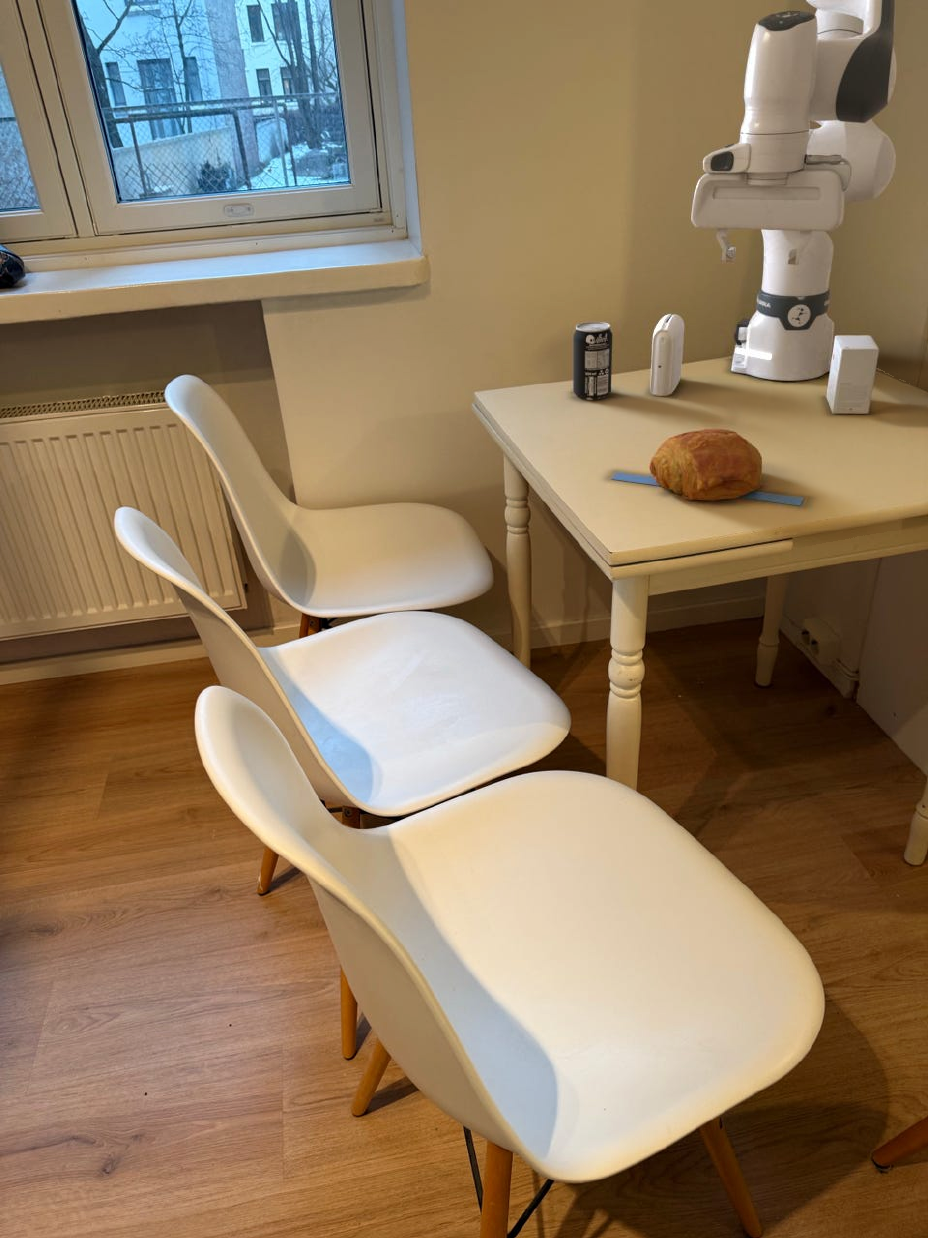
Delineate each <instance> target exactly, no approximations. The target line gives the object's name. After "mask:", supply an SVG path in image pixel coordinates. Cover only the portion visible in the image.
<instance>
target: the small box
mask: <svg viewBox="0 0 928 1238" xmlns="http://www.w3.org/2000/svg"><path fill="white" fill-rule="evenodd" d="M879 353H880V348H879V347H878V345H877V343H876V342H875V340H874V338H873V337H872V335H867V334H866V335H865V334H863V335H851V334H849V335H846V334H845V335H844V334H843V335H834V339H833V346H832V354H831V358H832V361H831V368H830V371H829V375H828V381H827V382H828V383H827V389H826V396H825V398H826V400H827V403H828V405H829V408H830V410H831V413H832V414H834V415H835V414H846V415H847V414H855V415H856V414H857V415H859V414H861V415H864V414H865V415H867V414H869V413H870V406H871V401H872V396H873V395H872V394H873V389H874V382H875V377H876V371H877V364H878V360H879V359H878V358H879Z"/></svg>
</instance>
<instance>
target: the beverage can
mask: <svg viewBox="0 0 928 1238" xmlns="http://www.w3.org/2000/svg"><path fill="white" fill-rule="evenodd" d="M610 328H611V324H609V323H608V322H605V321H585V322H580V323H578V324H576V326H575V331H574V333H573V344H572V345H573V348H572V349H573V350H572V351H573V352H572V353H573V355H572V356H573V357H572V358H573V359H572V360H573V363H572V365H573V367H572V368H573V369H572V371H573V373H572V374H573V377H572V379H573V381H572V382H573V383H572V384H573V386H572V390H573V393H574V394H575V396H576V397H577V398H579V399H581V400H588V401H594V400H595V401H596V400H601V399H604V398H606V397H607V396H609V394H610V393H611V392H612V369H613V365H612V364H613V332H612V331H611V329H610Z"/></svg>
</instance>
